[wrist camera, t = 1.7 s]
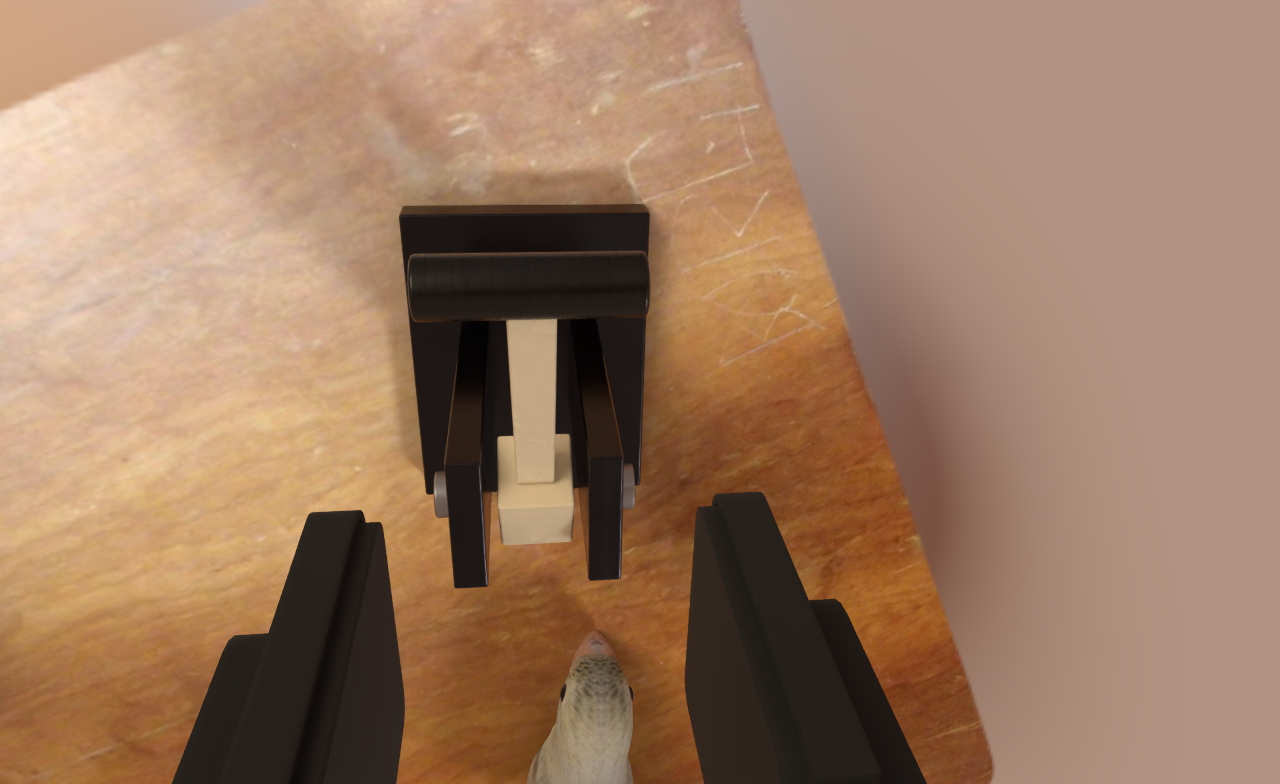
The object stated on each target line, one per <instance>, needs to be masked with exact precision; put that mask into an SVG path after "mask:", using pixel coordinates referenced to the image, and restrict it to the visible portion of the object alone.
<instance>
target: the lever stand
mask: <svg viewBox="0 0 1280 784" xmlns="http://www.w3.org/2000/svg"><path fill="white" fill-rule="evenodd" d="M649 218H650V215H649V212H648V210H647V208H646V205H644V204H620V205H473V206H403V207H402V210H401V213H400V215H399V222H400V232H401V242H402V253H403V263H404V273H405V283H406V294H407V304H408V314H409V324H410V335H411V345H412V355H413V365H414V375H415V386H416V396H417V406H418V416H419V427H420V437H421V447H422V457H423V468H424V478H425V488H426V493H427V494H434V507H435V514H436V517H437V518H447V517H448V518H449V530H450V542H451V553H452V565H453V577H454V587H455V588H474V587H487V586H488V578H489V551H490V523H491V496H492V492H496V491H498V474H497V439H498V437H500V436H514V435H513V419H512V403H511V388H510V372H509V356H508V340H507V324H506V320H505V321H459V322H415V321H414V320H413V318H412V316H411V312H410V307H409V298H408V262H409V259H410V256H411V255H413V254H440V253H517V252H594V251H643V252H645V253H646V255H647V258H648V246H649ZM645 332H646V316H645V317H642V318H596V319H557V357H556V421H555V434H569V435H570V436H571V451H572V469H573V486H574V488H578V490H579V499H580V508H581V517H582V526H583V535H584V544H585V553H586V562H587V571H588V578H589V580H590V581H594V580H612V579H620V578H621V560H622V520H623V509H632V508H634V505H635V485H639V484H640V474H641V445H642V417H643V389H644V360H645Z"/></svg>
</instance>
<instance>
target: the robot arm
mask: <svg viewBox="0 0 1280 784" xmlns="http://www.w3.org/2000/svg"><path fill="white" fill-rule="evenodd" d="M685 691H686V700H687V705H688V710H689V715H690V720H691V724H692V729H693V733H694V738H695V743H696V747H697V752H698V757H699V761H700V766H701V770H702V775H703V780H704V784H927V783H926V781H925V779H924V777H923V775H922V773H921V770H920V768H919V766H918V764H917V762H916V760H915V758H914V756H913V753H912V751H911V749H910V747H909V745H908V743H907V741H906V738H905V736H904V734H903V732H902V730H901V728H900V726H899V723H898V721H897V719H896V717H895V715H894V713H893V711H892V709H891V706H890V704H889V702H888V700H887V698H886V696H885V694H884V691H883V689H882V687H881V685H880V683H879V681H878V679H877V677H876V674H875V672H874V670H873V668H872V666H871V664H870V662H869V659H868V657H867V655H866V653H865V651H864V649H863V647H862V645H861V642H860V640H859V638H858V636H857V634H856V632H855V630H854V627H853V625H852V623H851V621H850V619H849V617H848V615H847V613H846V611H845V609H844V608H843V606H842V604H841V603H840V602H839V601H837V600H836V599H824V600H808V597H807V595H806V593H805V590H804V588H803V585H802V583H801V581H800V578H799V576H798V574H797V571H796V569H795V566H794V564H793V562H792V559H791V557H790V555H789V552H788V550H787V548H786V545H785V543H784V540H783V538H782V536H781V533H780V531H779V529H778V526H777V524H776V522H775V519H774V517H773V514H772V512H771V510H770V507H769V505H768V503H767V500H766V498H765V496H764V495H763V493H761V492H745V493H723V494H715V495H714V498H713V501H712V506H707V507H699V508H698V509H697V513H696V524H695V538H694V552H693V567H692V581H691V595H690V609H689V623H688V637H687V651H686V665H685ZM404 715H405V701H404V688H403V681H402V673H401V665H400V657H399V649H398V641H397V633H396V626H395V618H394V610H393V602H392V594H391V586H390V578H389V570H388V563H387V555H386V547H385V539H384V532H383V527H382V524H381V523H380V522H370V523H366V522H365V517H364V514H363V512H362V511H361V510H353V511H331V512H312V513H310V514H309V515H308V517H307V520H306V523H305V526H304V529H303V532H302V535H301V538H300V540H299V543H298V546H297V549H296V552H295V555H294V558H293V561H292V564H291V567H290V570H289V573H288V576H287V579H286V582H285V585H284V588H283V591H282V594H281V597H280V600H279V603H278V606H277V609H276V612H275V615H274V618H273V621H272V624H271V627H270V630H269V633H267V634H250V635H234V636H233V637H232V638H231V639H230V640H229V641H228V643H227V645H226V647H225V649H224V651H223V653H222V655H221V658H220V660H219V663H218V665H217V668H216V671H215V673H214V676H213V678H212V681H211V684H210V686H209V689H208V691H207V694H206V697H205V699H204V702H203V704H202V707H201V709H200V712H199V715H198V717H197V720H196V722H195V725H194V728H193V730H192V733H191V735H190V738H189V740H188V743H187V746H186V748H185V751H184V753H183V756H182V759H181V761H180V764H179V766H178V769H177V772H176V774H175V777H174V779H173V782H172V784H396V781H397V773H398V766H399V758H400V751H401V743H402V736H403V728H404Z"/></svg>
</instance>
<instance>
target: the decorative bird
mask: <svg viewBox="0 0 1280 784" xmlns="http://www.w3.org/2000/svg"><path fill="white" fill-rule="evenodd" d="M632 701H633V691H632V689H631V687H630V686H629V685H628V682H627V679H626V676H625V674H624V672H623V670H622V667H621V665H620V663H619V661H618V659H617V655H616V653H615V651H614V649H613V647H612V646H611V645H610V644H609V643H608V641H607V640H606V639H605V638H604V637H603V635H602V634H601V633H599V632H598V631H597V630H595V629H594V630H592V631H591V632H590V633H589V634H588V635H587V636H586V637H585V639H584V640H583V642H582V643H581V645H580V646H579V648H578V649H577V651H576V653H575V654H574V657H573V660H572V664H571V667H570V671H569V674H568V676H567V678H566V680H565V682H564V685H563V688H562V690H561V694H560V700H559V704H558V710H557V718H556V723H555V725H554V726H553V728H552V730H551V733H550V735H549V736H548V737H547V739H546V741H545V742H544V744H543V745H542V746H541V748H540V749H539V751H538V752H537V754H536V755H535V757H534V759H533V761H532V764H531V767H530V771H529V774H528V779H527V784H633V776H632V770H631V765H630V761H629V757H628V751H629V748H630V743H631V738H632V731H633V708H632Z"/></svg>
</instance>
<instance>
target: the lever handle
mask: <svg viewBox="0 0 1280 784" xmlns="http://www.w3.org/2000/svg"><path fill="white" fill-rule="evenodd" d="M408 298H409V307H410V312H411V316H412V318H413V320H414V321H415V322H459V321H505V320H506V324H507V340H508V356H509V372H510V388H511V403H512V419H513V435H514V436H500V437H498V439H497V474H498V513H499V522H500V532H501V541H502V544H503V545H515V544H535V543H554V542H570V541H572V537H573V521H574V504H575V503H574V486H573V469H572V451H571V436H570V435H569V434H555V421H556V357H557V319H596V318H642V317H645V316H646V315H647V313H648V310H649V303H650V271H649V262H648V258H647V255H646V253H645V252H643V251H594V252H517V253H440V254H413V255H411V256H410V259H409V262H408Z"/></svg>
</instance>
